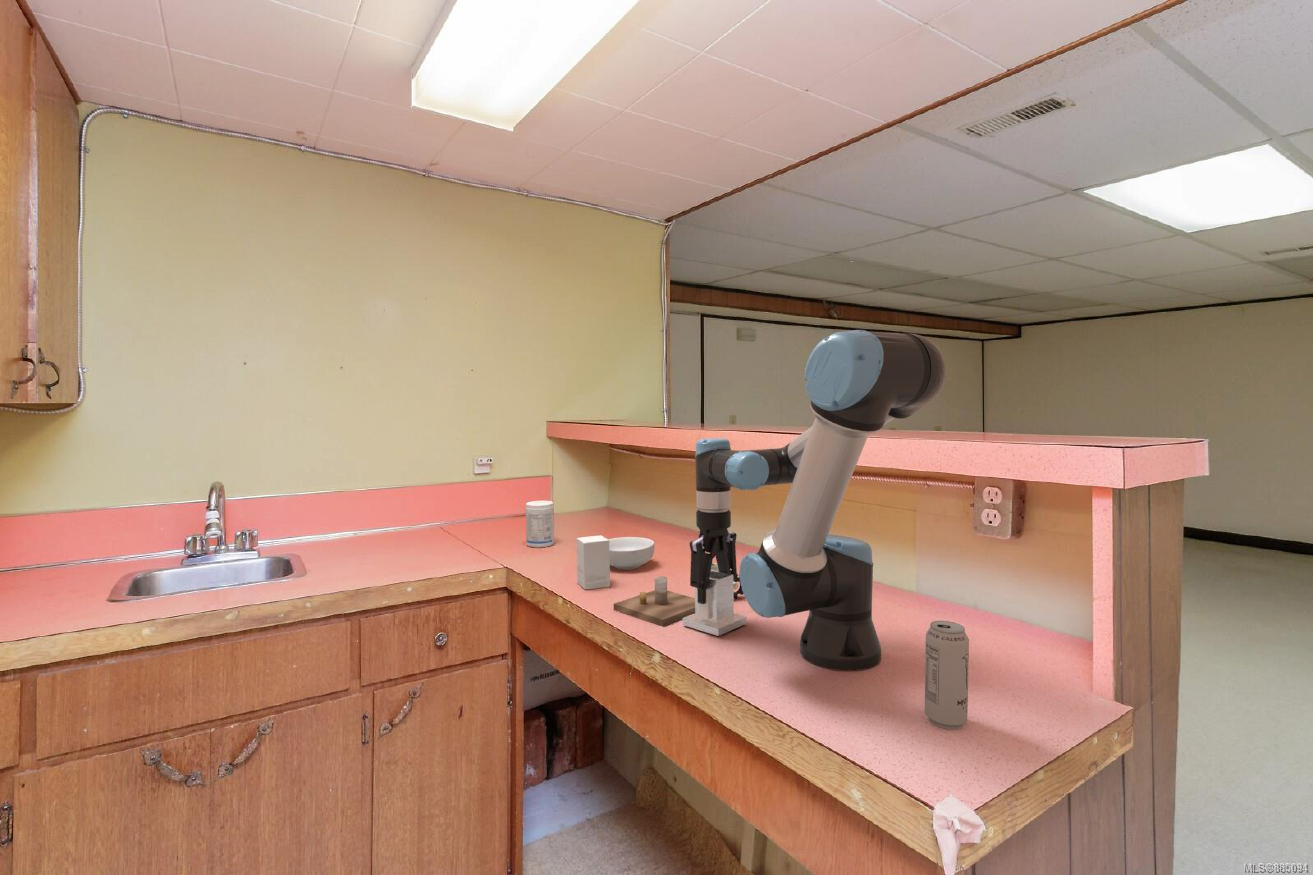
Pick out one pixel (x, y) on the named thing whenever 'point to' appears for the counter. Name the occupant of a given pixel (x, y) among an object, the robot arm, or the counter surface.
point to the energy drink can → (946, 674)
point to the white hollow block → (717, 607)
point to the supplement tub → (540, 523)
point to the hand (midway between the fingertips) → (714, 613)
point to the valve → (735, 585)
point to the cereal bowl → (630, 552)
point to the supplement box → (593, 562)
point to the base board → (658, 605)
